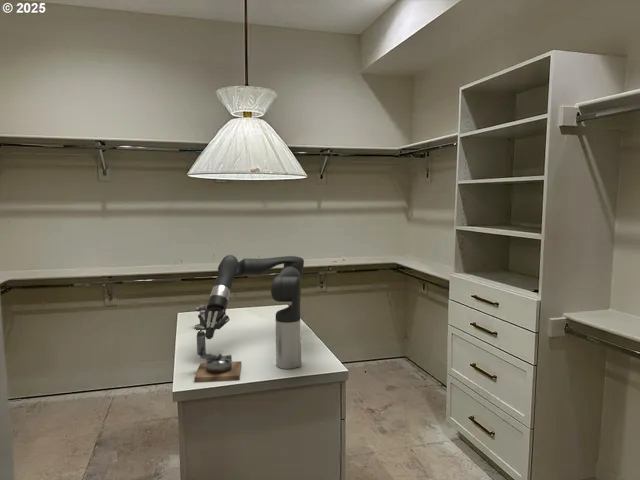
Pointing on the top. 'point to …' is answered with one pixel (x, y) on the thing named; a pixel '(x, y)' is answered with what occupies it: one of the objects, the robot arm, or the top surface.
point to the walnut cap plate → (228, 375)
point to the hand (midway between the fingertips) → (208, 338)
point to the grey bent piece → (212, 357)
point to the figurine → (202, 309)
